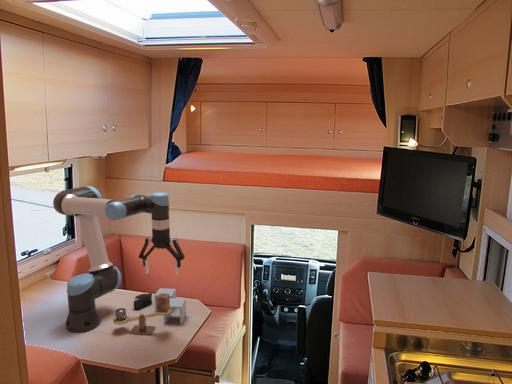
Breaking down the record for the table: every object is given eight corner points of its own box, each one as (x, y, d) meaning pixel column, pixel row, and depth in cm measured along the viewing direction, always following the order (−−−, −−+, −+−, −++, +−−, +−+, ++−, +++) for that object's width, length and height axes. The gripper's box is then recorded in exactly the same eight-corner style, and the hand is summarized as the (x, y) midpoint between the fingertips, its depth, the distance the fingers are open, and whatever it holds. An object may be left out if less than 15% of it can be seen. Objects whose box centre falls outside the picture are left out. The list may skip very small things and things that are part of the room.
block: (157, 312, 182) (156, 297, 180) (160, 307, 186) (159, 293, 185) (166, 312, 181) (166, 298, 180) (169, 307, 186) (169, 293, 185)
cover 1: (155, 311, 205) (154, 295, 203) (160, 304, 213) (159, 288, 212) (171, 312, 204) (171, 296, 203) (176, 304, 213) (175, 288, 211)
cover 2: (164, 323, 194) (163, 306, 192) (169, 314, 202) (168, 298, 200) (181, 324, 193) (181, 307, 191) (186, 315, 202) (185, 298, 200)
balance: (111, 333, 184) (110, 311, 182) (117, 325, 191) (116, 303, 189) (169, 336, 182) (168, 314, 180) (173, 328, 189) (172, 306, 187)
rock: (133, 311, 205) (133, 300, 204) (134, 302, 215) (134, 291, 214) (151, 309, 207) (151, 299, 206) (152, 300, 217) (152, 290, 216)
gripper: (129, 229, 174) (131, 275, 178) (186, 231, 172) (187, 278, 176) (136, 224, 181) (138, 269, 185) (190, 226, 179) (191, 271, 183)
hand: (162, 273), depth 181 cm, fingers open, 13 cm apart
